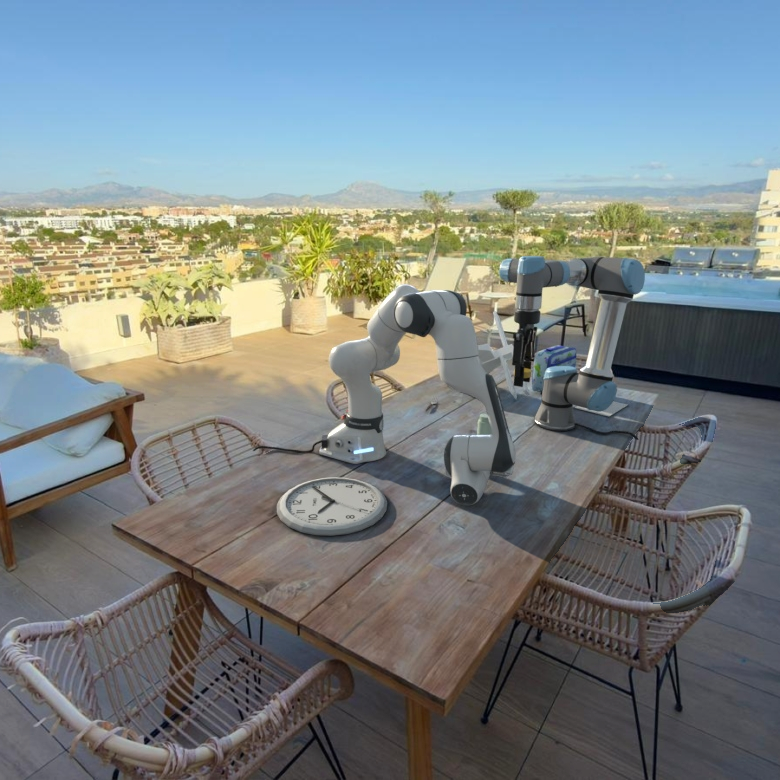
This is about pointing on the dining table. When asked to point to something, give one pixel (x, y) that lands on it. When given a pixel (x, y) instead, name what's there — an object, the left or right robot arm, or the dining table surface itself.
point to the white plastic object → (499, 358)
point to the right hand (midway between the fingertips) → (521, 383)
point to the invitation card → (609, 411)
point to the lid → (526, 373)
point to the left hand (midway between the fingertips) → (483, 451)
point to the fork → (432, 403)
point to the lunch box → (551, 363)
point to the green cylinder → (483, 425)
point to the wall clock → (331, 506)
